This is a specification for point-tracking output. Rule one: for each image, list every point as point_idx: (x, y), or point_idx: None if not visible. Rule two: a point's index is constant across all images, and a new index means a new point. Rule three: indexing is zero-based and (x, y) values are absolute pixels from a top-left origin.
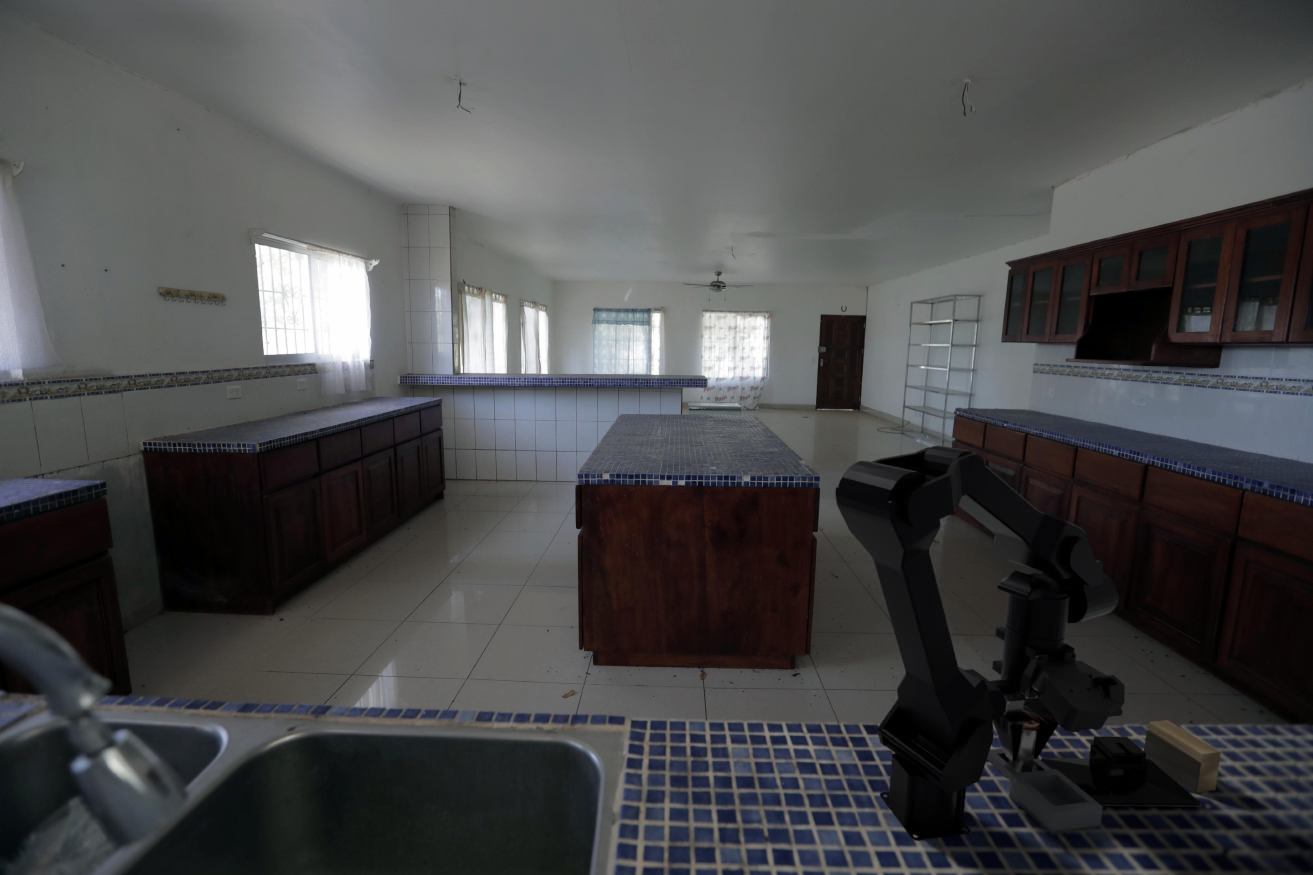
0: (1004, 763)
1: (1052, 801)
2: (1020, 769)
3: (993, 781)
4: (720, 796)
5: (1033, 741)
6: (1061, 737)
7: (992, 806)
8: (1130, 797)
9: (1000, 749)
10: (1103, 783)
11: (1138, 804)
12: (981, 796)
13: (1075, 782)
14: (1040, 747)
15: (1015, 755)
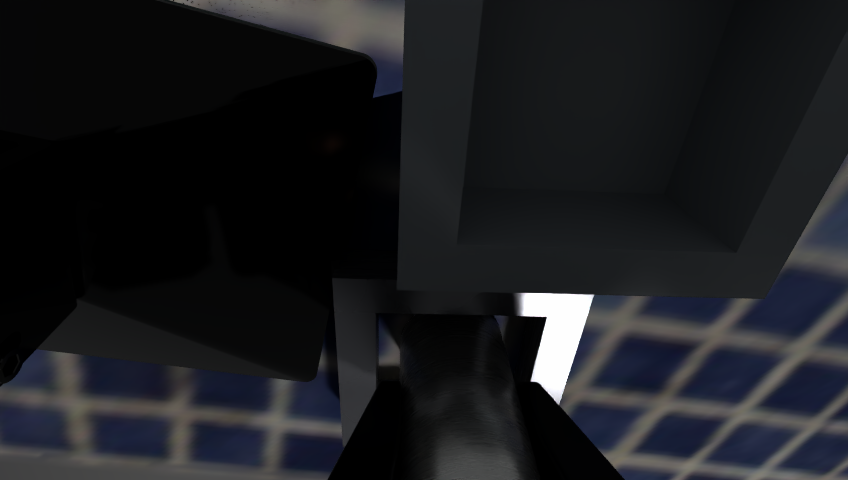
0: (546, 377)
1: (533, 119)
2: (494, 338)
3: (646, 305)
4: None
5: None
6: (83, 457)
7: (843, 172)
8: None
9: None
10: (85, 151)
11: None
12: (811, 238)
13: (271, 210)
14: (377, 444)
15: (548, 411)
